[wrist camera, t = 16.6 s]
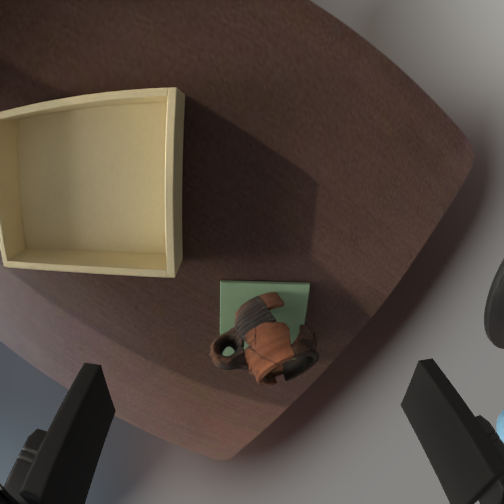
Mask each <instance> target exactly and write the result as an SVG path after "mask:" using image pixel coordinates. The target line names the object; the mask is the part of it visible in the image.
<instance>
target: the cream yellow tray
mask: <svg viewBox="0 0 504 504" xmlns="http://www.w3.org/2000/svg"><path fill="white" fill-rule="evenodd" d="M184 111H185V94H184V93H183V92H181V91H180V90H179V89H178V88H176V87H172V88H150V89H135V90H123V91H113V92H104V93H96V94H88V95H81V96H74V97H68V98H62V99H56V100H51V101H46V102H41V103H36V104H31V105H27V106H22V107H18V108H14V109H10V110H6V111H2V112H0V248H1V253H2V259H3V264H4V267H12V268H24V269H37V270H50V271H64V272H79V273H94V274H111V275H128V276H147V277H171V278H175V276H176V274H177V272H178V269H179V267H180V264H181V262H182V260H183V252H182V167H183V133H184Z"/></svg>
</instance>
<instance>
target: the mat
mask: <svg viewBox="0 0 504 504" xmlns="http://www.w3.org/2000/svg"><path fill="white" fill-rule="evenodd" d="M309 290H310V283H309V282H265V281H231V280H221V282H220V335H222V334H223V333H225V332H228V331H229V330H230V329H231V328H232V327H233V328H234V325H235V314H236V312H237V310H238V309H239V307H240V306H241V305H243V304H244V303H245V302H247V301H248V300H249V299H252V298H254V297H256V296H259V295H262V294H265V293H269V292H277V293H278V295H279V296H280V298H281V299H282V300H283V301H284V306H283V307H279V308H275V309H272V310H269V311H270V312H271V314H272V315H273V316H274V317H275V319H276V321H277V322H283V323H285V324H286V325H287V326H288V327H289V329H290V339H291V344H292V343H293V342H294V341H295V340H296V338H297V336H298V334H299V333H300V331H299V327H300V325H304V324H305V317H306V311H307V304H308V297H309ZM248 346H249V345H248V344H247V343H246V342H245V341H244V350H245V349H246V348H247V347H248ZM234 352H235V351H234V349H233V348H232V347H226V348H225V349H224V351H223V354H222V355H224V356H230V355H232V354H233V353H234ZM294 359H296V358H294ZM292 360H293V359H292Z"/></svg>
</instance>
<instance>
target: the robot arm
mask: <svg viewBox="0 0 504 504" xmlns="http://www.w3.org/2000/svg"><path fill="white" fill-rule="evenodd" d="M401 406H402V408H403V410H404V412H405V414H406V416H407V418H408V420H409V422H410V423H411V425H412V427H413V429H414V431H415V433H416V435H417V437H418V439H419V441H420V443H421V445H422V447H423V449H424V450H425V453H426V454H427V457H428V458H429V460H430V463H431V465H432V467H433V469H434V471H435V473H436V475H437V477H438V479H439V481H440V483H441V485H442V487H443V489H444V491H445V493H446V496H447V498H448V500H449V502H450V504H474V503H475V502H476V501H478V500H479V502H480V504H504V410H503V411H502V412H501V414H500V415H499V417H498V419H497V427H496V430H497V432H496V433H495V430H494V428H493V427H492V426H491V424H490V422H488V421H487V420H486V419H484V418H483V417H482V416H481V415H479V416H476V417H475V416H474V415H473V413H472V412H471V411H470V409H469V408H468V406H467V405H466V403H465V402H464V401H463V399H462V398H461V396H460V395H459V394H458V392H457V391H456V389H455V388H454V387H453V385H452V384H451V383H450V381H449V380H448V379H447V377H446V376H445V375H444V373H443V372H442V371H441V369H440V368H439V367H438V365H437V364H436V363H435V361H434V360H433V359H426V360H421V361H418V364H417V367H416V369H415V372H414V374H413V377H412V379H411V382H410V385H409V387H408V389H407V392H406V394H405V396H404V399H403V401H402V403H401ZM114 414H115V408H114V405H113V402H112V399H111V396H110V393H109V390H108V387H107V384H106V381H105V378H104V374H103V371H102V368H101V365H97V364H89V363H84V364H83V366H82V368H81V370H80V371H79V373H78V375H77V377H76V379H75V380H74V382H73V384H72V386H71V388H70V389H69V391H68V393H67V395H66V397H65V399H64V401H63V402H62V404H61V406H60V408H59V410H58V412H57V414H56V416H55V418H54V420H53V422H52V424H51V426H50V428H49V430H48V432H47V431H43V430H40V429H37V430H35V431H34V432H33V433H32V434H31V435H30V436H29V437H28V438H27V440H26V442H25V444H24V446H23V450H21V452H20V454H19V458H17V460H16V462H15V464H14V466H13V468H12V470H11V472H10V474H9V477H8V479H7V481H6V483H5V485H4V487H3V486H2V485H1V484H0V504H85V501H86V498H87V494H88V491H89V488H90V485H91V482H92V479H93V475H94V472H95V469H96V466H97V463H98V460H99V457H100V454H101V451H102V448H103V445H104V442H105V439H106V436H107V433H108V431H109V428H110V425H111V422H112V419H113V417H114Z"/></svg>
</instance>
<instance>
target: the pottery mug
mask: <svg viewBox="0 0 504 504" xmlns="http://www.w3.org/2000/svg"><path fill="white" fill-rule="evenodd" d="M283 306H284V301H283V300H282V299H281V298H280V296H279V295H278V293H277V292H269V293H265V294H262V295H259V296H256V297H254V298H252V299H249V300H248V301H247V302H245V303H244V304H243V305H241V306H240V307H239V309H238V310H237V312H236V314H235V325H234V328H233V327H232V328H231V329H230V330H229V331H228V332H225V333H223V334H222V335H220V336H219V337H218V338H217V339H215V340H214V342H213V343H212V345H211V347H210V350H209V351H210V352H209V356H210V358H212V360H213V363H214V365H216V366H217V367H219V368H221V369H224V370H232V369H243V370H247V369H248V368H249V370H248V372H249V373H250V374H252V375H254V376H255V377H256V380H257V383H258V384H260V385H274V384H276V383H277V381H276V379H275V377H276V376H279V375H282V374H284V377H285V381H288V380H291V379H293V378H295V377H297V376H299V375H301V374H302V373H304V372H305V371H307V370H308V369H309V368H310V367H312V366H313V365H314V364H315V363H316V362H317V361H318V358H319V354H318V353H317V351H316V346H317V332H315V333H314V335H313V336H312V334H311V333H310V330H309V327H307V326H305V325H300V327H299V331H300V333H299V334H298V336H297V338H296V340H295V341H294V342H293V343H292V344H291V339H290V329H289V327H288V326H287V325H286V324H285V323H283V322H277V321H276V319H275V317H274V316H273V315H272V314H271V312H270V311H269V310H272V309H275V308H279V307H283ZM244 341H245V342H246V343H247V344H248V345H249V346H248V347H247V348H246V349H245V350H244ZM226 347H232V348H233V349H234V351H235V352H234V353H233V354H232V355H230V356H224V355H222V354H223V351H224V349H225V348H226ZM294 358H296V359H294ZM292 359H293V360H292Z"/></svg>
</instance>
